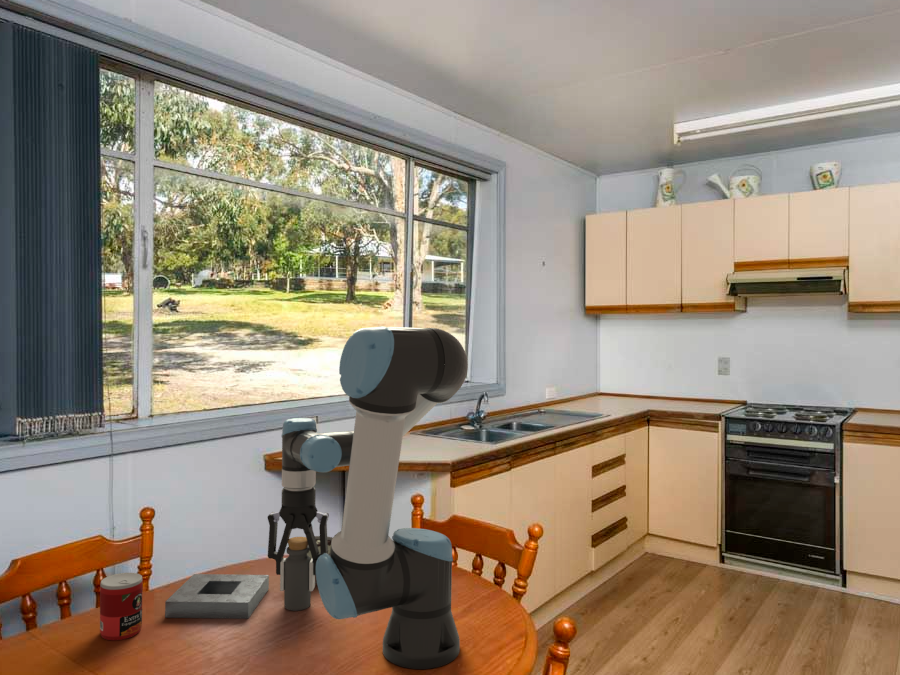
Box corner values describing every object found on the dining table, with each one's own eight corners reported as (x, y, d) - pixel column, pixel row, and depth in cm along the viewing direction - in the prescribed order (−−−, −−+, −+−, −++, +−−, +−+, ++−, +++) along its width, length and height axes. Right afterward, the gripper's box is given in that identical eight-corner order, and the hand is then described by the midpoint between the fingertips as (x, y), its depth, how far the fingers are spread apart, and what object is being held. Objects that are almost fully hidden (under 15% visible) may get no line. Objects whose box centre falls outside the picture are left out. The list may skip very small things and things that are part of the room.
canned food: (125, 643, 129) (125, 588, 129) (90, 638, 131) (91, 584, 131) (150, 626, 137) (151, 574, 137) (117, 622, 138) (117, 570, 138)
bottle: (301, 598, 152) (302, 534, 152) (315, 605, 148) (316, 539, 148) (279, 605, 148) (280, 539, 148) (292, 613, 144) (293, 545, 144)
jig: (248, 618, 141) (248, 602, 141) (165, 617, 141) (165, 601, 141) (268, 589, 157) (268, 574, 157) (193, 588, 157) (194, 574, 157)
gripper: (342, 483, 152) (341, 582, 152) (262, 482, 151) (261, 581, 152) (337, 491, 144) (336, 595, 144) (252, 490, 144) (251, 594, 144)
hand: (297, 588), depth 148 cm, fingers closed on bottle, 6 cm apart
